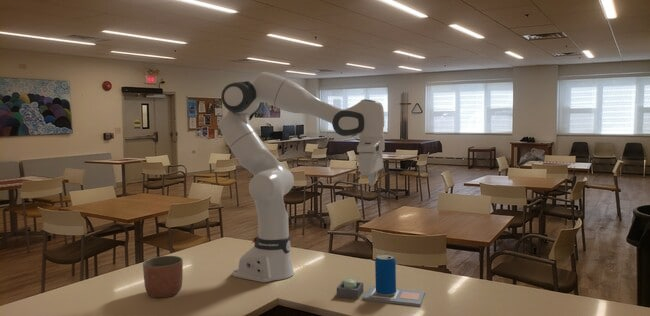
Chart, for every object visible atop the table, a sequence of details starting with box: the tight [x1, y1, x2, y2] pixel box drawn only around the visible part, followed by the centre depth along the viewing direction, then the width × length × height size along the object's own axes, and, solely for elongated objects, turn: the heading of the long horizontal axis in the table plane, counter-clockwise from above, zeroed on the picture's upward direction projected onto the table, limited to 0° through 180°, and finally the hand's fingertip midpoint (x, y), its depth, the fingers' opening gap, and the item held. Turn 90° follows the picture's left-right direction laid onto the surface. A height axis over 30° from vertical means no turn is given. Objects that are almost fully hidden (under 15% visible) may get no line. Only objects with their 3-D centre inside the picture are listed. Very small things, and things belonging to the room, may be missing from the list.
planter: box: [142, 255, 184, 299], centre depth 156 cm, size 12×12×11 cm
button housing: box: [336, 280, 364, 300], centre depth 154 cm, size 7×7×3 cm
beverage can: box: [374, 253, 397, 296], centre depth 152 cm, size 6×6×12 cm
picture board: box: [362, 285, 426, 307], centre depth 151 cm, size 18×11×1 cm, turn 71°
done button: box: [343, 278, 357, 289], centre depth 154 cm, size 4×4×4 cm
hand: (372, 184), depth 168 cm, fingers closed
